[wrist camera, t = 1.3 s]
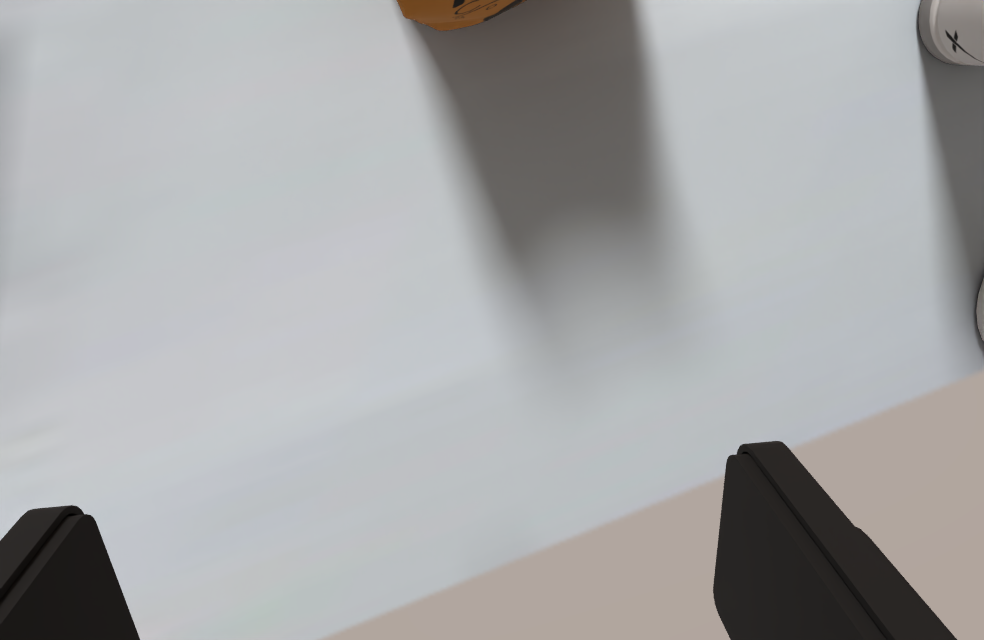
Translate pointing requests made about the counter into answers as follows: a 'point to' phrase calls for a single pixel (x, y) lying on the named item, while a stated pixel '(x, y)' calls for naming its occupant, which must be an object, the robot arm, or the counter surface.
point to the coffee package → (454, 11)
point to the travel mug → (953, 30)
